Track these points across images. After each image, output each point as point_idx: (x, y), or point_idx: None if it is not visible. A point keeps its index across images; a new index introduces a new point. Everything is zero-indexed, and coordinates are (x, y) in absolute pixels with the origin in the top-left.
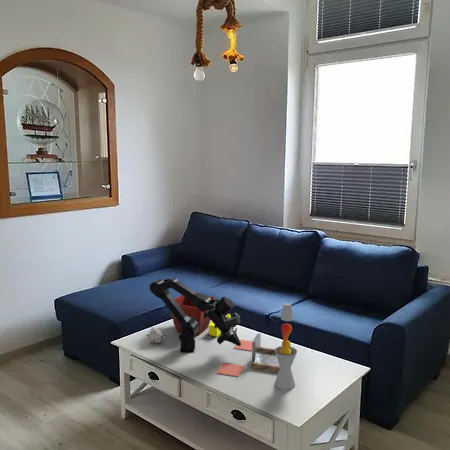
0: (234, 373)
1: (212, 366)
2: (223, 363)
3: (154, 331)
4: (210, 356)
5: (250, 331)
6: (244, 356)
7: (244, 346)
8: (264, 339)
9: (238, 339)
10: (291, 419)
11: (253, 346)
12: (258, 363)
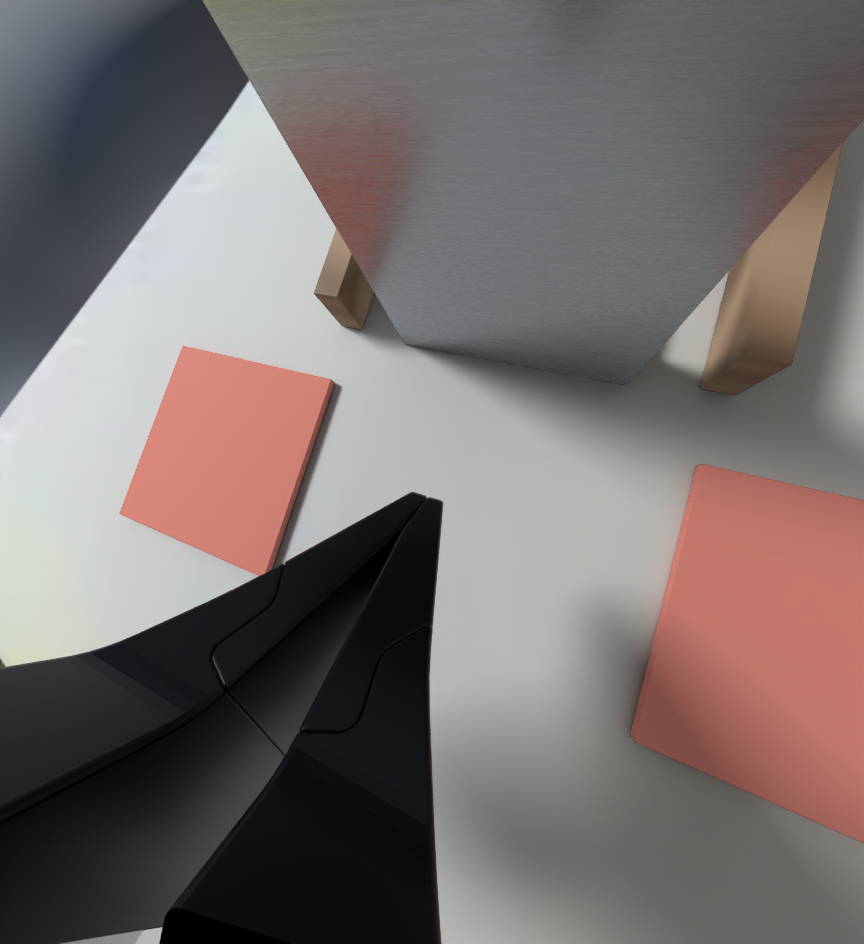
0: None
1: (753, 923)
2: (666, 745)
3: None
4: (443, 888)
5: (11, 419)
6: (437, 467)
7: (245, 465)
8: (140, 306)
9: (349, 552)
10: None
11: (853, 106)
12: (787, 261)
